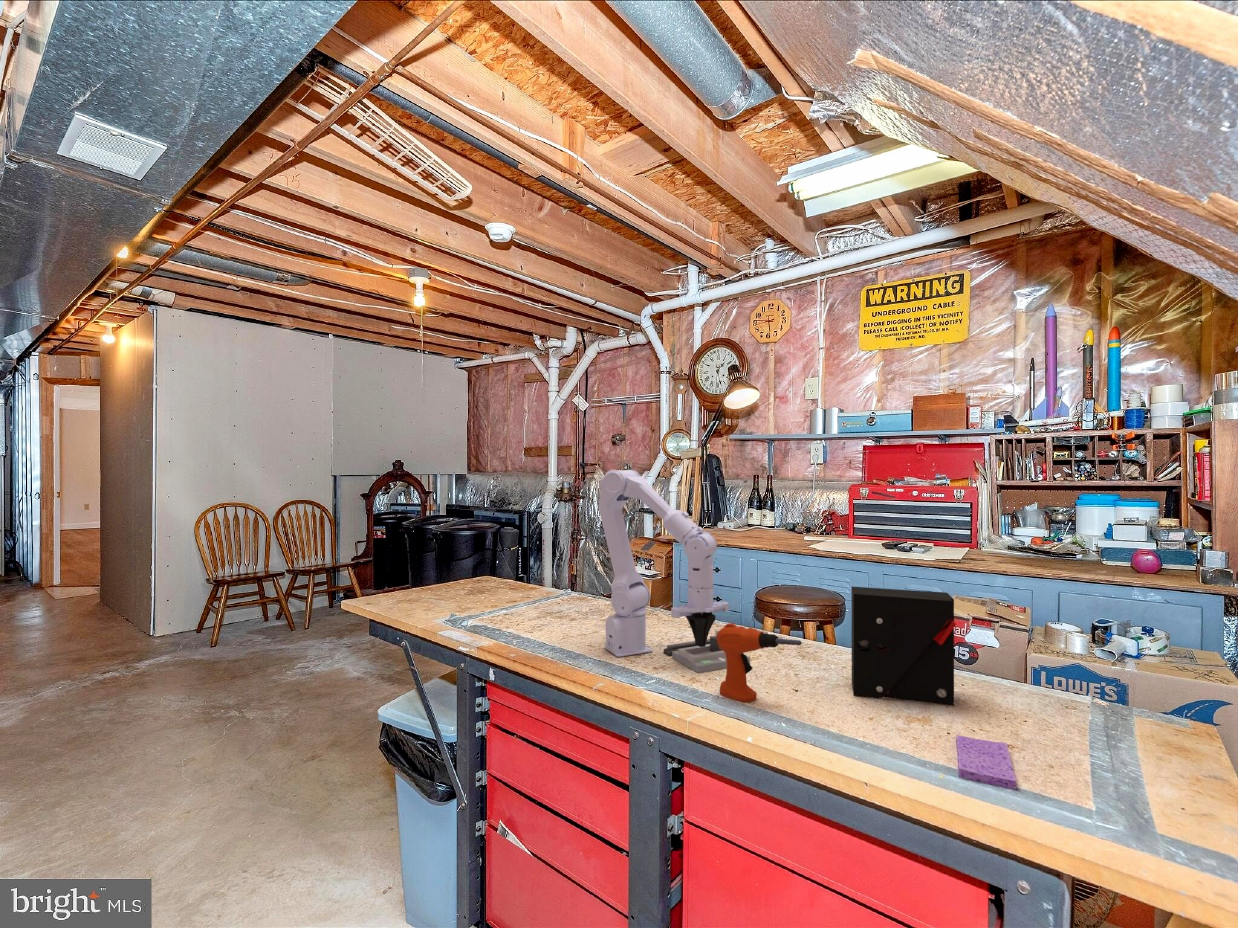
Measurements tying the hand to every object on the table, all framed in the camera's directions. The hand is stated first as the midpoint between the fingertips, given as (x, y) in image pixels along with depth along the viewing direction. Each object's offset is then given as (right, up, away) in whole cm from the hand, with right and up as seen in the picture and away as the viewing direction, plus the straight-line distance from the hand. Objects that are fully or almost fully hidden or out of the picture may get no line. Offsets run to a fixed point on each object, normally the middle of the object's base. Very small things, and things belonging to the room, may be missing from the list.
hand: (700, 645), depth 132 cm
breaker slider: (+5, -2, +2) cm, 6 cm away
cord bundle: (-1, -4, +8) cm, 9 cm away
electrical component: (+37, -4, -18) cm, 41 cm away
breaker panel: (+3, -4, +1) cm, 5 cm away
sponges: (+37, -4, -45) cm, 58 cm away
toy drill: (+8, -4, -22) cm, 24 cm away
